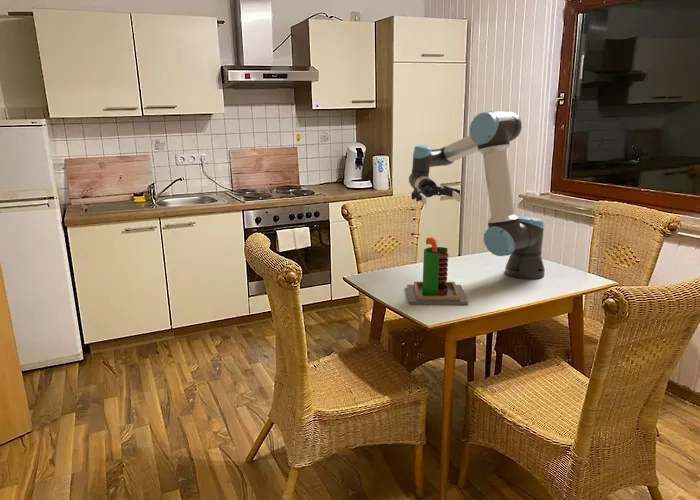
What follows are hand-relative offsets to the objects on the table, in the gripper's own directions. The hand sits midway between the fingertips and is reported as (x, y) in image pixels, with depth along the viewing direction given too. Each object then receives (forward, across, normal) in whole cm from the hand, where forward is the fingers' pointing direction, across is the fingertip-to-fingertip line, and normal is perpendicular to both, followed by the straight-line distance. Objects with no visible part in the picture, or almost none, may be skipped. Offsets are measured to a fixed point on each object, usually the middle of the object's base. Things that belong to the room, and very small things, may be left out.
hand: (442, 199), depth 204 cm
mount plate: (+25, +10, -28) cm, 39 cm away
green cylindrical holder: (+25, +10, -27) cm, 38 cm away
